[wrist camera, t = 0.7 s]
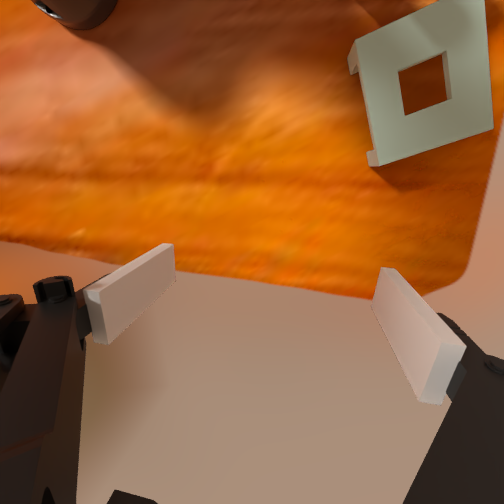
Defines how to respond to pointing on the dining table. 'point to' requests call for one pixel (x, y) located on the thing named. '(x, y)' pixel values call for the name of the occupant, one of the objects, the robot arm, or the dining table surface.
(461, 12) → the bridge
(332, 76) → the dining table surface
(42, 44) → the dining table surface
